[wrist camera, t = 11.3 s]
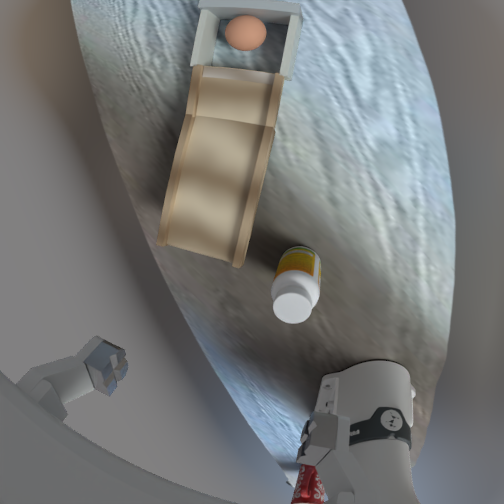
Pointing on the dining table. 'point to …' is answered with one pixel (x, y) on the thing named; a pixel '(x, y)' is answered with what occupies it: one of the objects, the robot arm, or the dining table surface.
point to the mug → (308, 487)
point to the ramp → (221, 161)
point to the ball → (245, 32)
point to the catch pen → (254, 4)
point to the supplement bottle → (296, 284)
